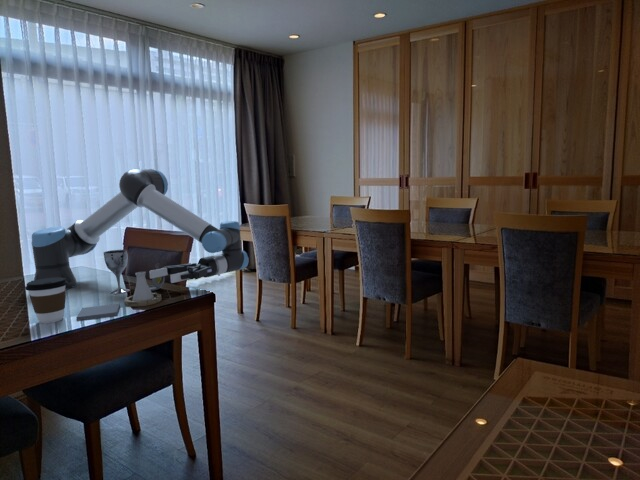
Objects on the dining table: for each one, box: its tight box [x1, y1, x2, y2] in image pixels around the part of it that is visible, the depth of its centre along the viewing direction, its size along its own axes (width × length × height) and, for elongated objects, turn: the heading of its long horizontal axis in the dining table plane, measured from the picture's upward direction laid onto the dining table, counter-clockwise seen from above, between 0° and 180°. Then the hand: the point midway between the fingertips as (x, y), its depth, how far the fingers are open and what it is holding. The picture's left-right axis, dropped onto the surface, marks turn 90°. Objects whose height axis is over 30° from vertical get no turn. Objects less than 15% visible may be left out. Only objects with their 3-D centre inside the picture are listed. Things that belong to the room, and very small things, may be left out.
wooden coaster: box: [123, 292, 162, 308], centre depth 157 cm, size 11×11×2 cm
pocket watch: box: [148, 262, 166, 292], centre depth 173 cm, size 8×8×10 cm
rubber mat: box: [76, 302, 121, 321], centre depth 146 cm, size 11×11×1 cm
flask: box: [132, 271, 154, 301], centre depth 156 cm, size 7×7×10 cm
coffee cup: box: [24, 277, 68, 324], centre depth 140 cm, size 11×11×12 cm
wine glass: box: [103, 249, 131, 295], centre depth 173 cm, size 8×8×15 cm
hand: (160, 276), depth 161 cm, fingers open, 13 cm apart
